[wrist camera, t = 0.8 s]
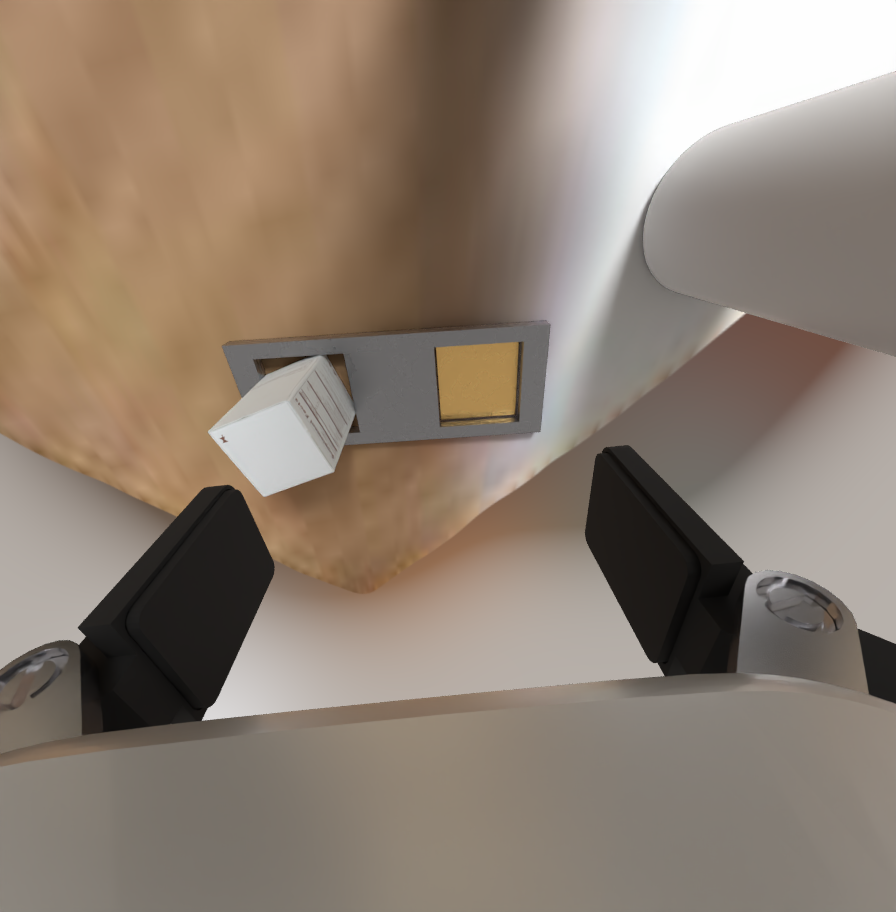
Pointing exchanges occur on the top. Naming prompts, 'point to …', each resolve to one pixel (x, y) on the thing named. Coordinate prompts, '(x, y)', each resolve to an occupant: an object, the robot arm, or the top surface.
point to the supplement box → (288, 426)
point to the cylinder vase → (789, 216)
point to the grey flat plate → (424, 378)
